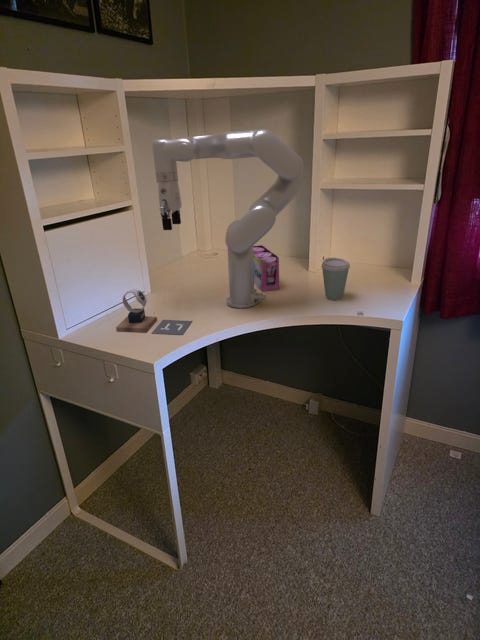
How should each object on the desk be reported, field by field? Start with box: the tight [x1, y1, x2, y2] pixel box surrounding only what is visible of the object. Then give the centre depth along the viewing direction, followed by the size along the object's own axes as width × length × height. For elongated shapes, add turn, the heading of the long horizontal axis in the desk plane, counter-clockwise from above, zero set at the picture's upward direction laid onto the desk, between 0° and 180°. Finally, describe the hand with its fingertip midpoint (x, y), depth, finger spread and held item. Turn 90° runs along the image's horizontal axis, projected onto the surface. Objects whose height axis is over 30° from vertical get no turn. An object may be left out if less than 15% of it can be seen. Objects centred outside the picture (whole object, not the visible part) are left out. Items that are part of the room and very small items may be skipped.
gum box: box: [253, 244, 280, 292], centre depth 184 cm, size 24×8×14 cm, turn 15°
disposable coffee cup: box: [321, 257, 351, 301], centre depth 163 cm, size 11×11×15 cm
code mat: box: [151, 319, 193, 336], centre depth 148 cm, size 11×11×1 cm
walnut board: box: [115, 315, 158, 333], centre depth 150 cm, size 11×10×2 cm
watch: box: [122, 289, 147, 323], centre depth 149 cm, size 6×8×11 cm
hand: (172, 226), depth 155 cm, fingers open, 9 cm apart
